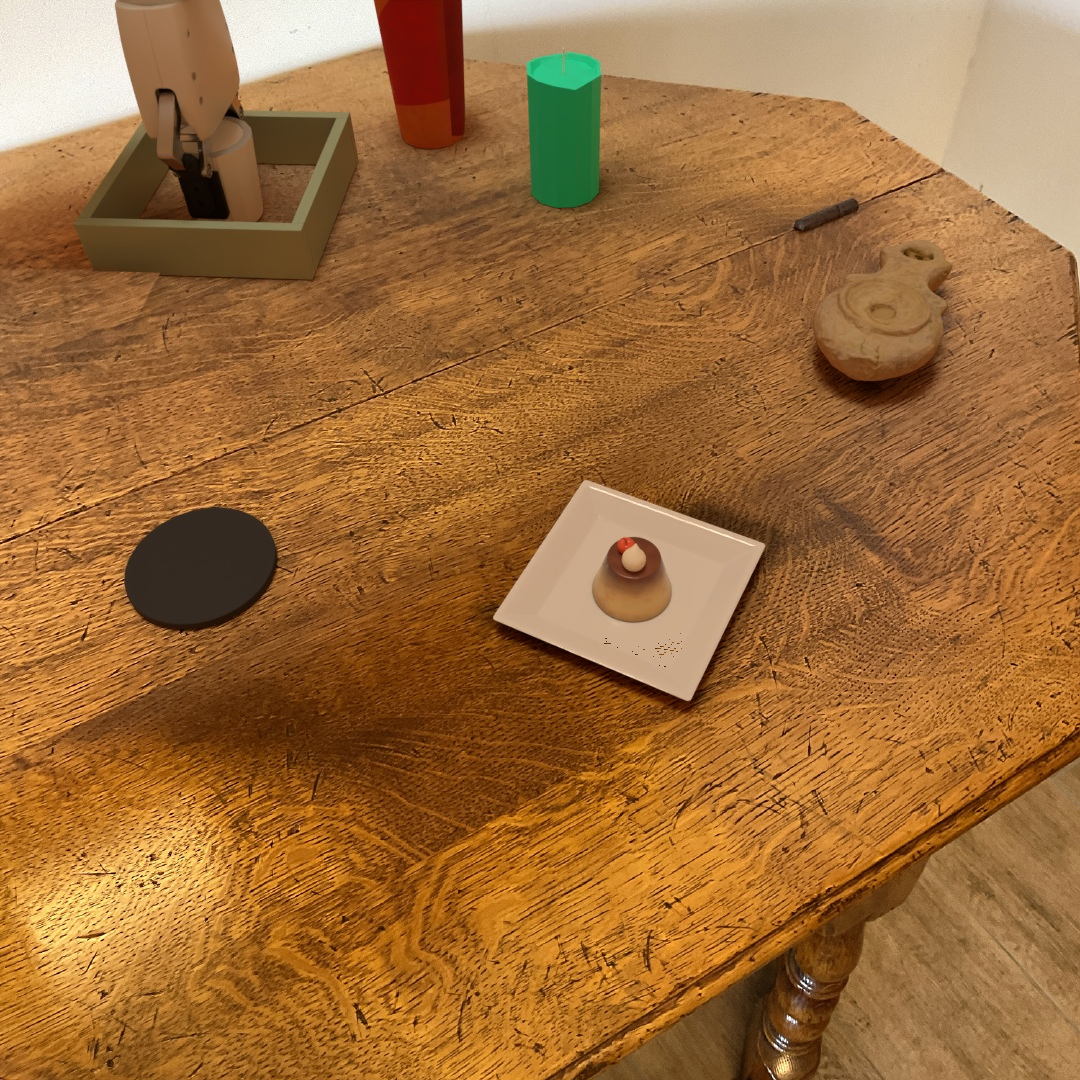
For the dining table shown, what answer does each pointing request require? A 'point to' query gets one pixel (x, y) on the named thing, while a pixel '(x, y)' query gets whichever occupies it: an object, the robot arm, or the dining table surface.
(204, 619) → the coaster
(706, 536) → the dessert
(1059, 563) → the dining table surface
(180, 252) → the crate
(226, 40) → the robot arm
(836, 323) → the oil lamp
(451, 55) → the coffee cup
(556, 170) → the candle
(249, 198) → the beige tapered cylinder
